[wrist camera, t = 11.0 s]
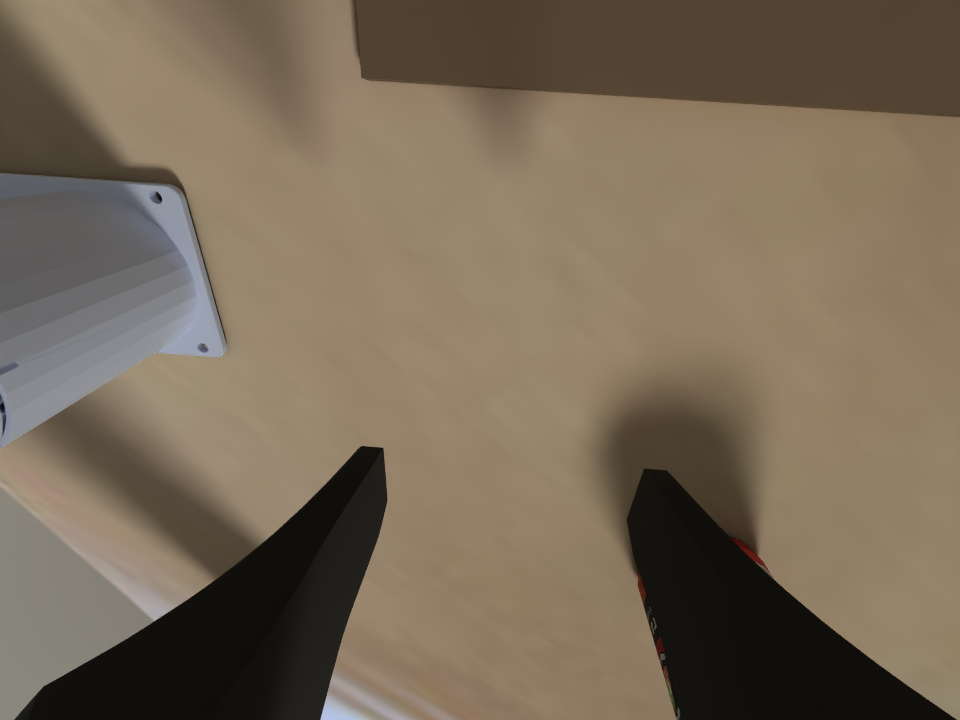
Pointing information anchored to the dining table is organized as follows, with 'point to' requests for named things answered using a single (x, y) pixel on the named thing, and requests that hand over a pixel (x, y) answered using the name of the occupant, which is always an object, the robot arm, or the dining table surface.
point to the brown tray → (678, 49)
